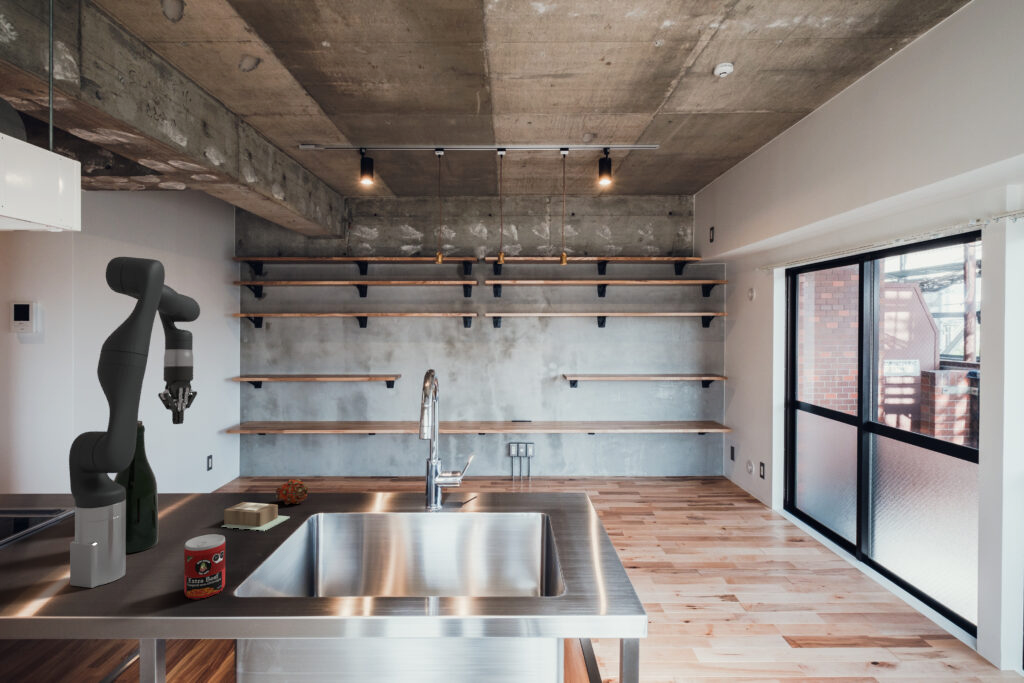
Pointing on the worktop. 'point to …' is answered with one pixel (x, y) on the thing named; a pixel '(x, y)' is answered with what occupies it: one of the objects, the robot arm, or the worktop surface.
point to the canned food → (204, 566)
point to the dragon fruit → (292, 487)
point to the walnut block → (251, 514)
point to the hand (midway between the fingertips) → (178, 423)
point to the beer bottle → (140, 499)
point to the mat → (262, 528)
